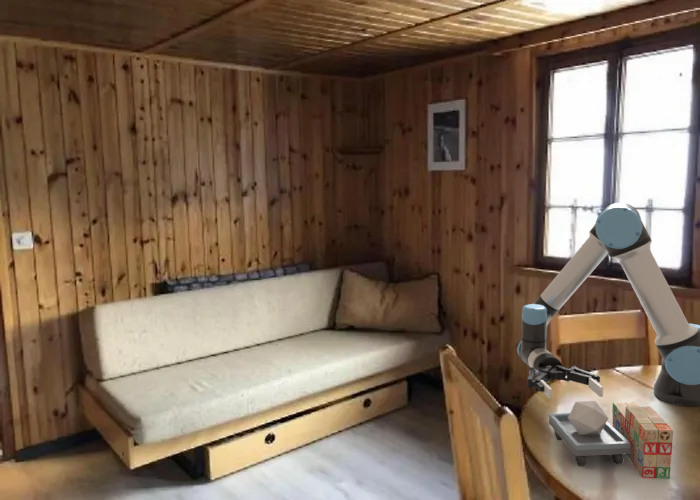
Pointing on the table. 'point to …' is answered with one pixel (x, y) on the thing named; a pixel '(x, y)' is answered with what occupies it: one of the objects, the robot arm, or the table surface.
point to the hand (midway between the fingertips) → (576, 393)
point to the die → (587, 418)
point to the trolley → (589, 440)
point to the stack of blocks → (645, 439)
